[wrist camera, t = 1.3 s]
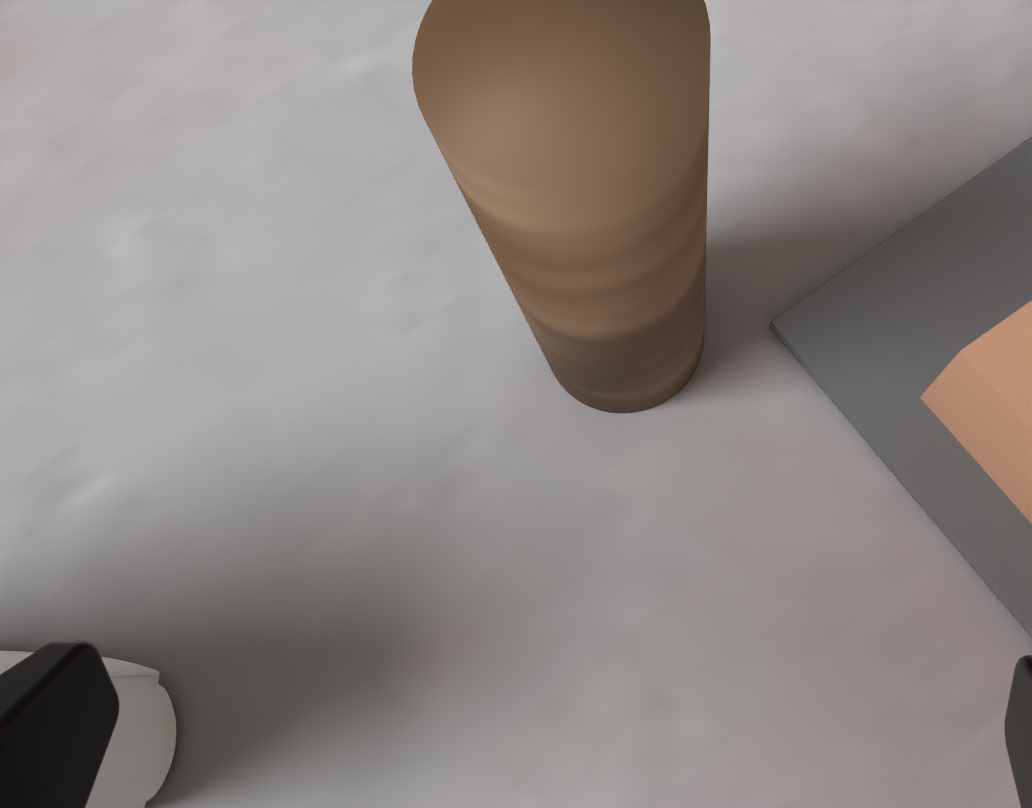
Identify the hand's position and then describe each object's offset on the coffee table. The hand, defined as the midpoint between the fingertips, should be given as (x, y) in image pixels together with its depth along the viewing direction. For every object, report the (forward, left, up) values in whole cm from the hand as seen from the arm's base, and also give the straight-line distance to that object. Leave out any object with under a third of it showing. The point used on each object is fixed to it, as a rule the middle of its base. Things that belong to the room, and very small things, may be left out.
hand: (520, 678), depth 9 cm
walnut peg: (+7, -5, -13) cm, 16 cm away
